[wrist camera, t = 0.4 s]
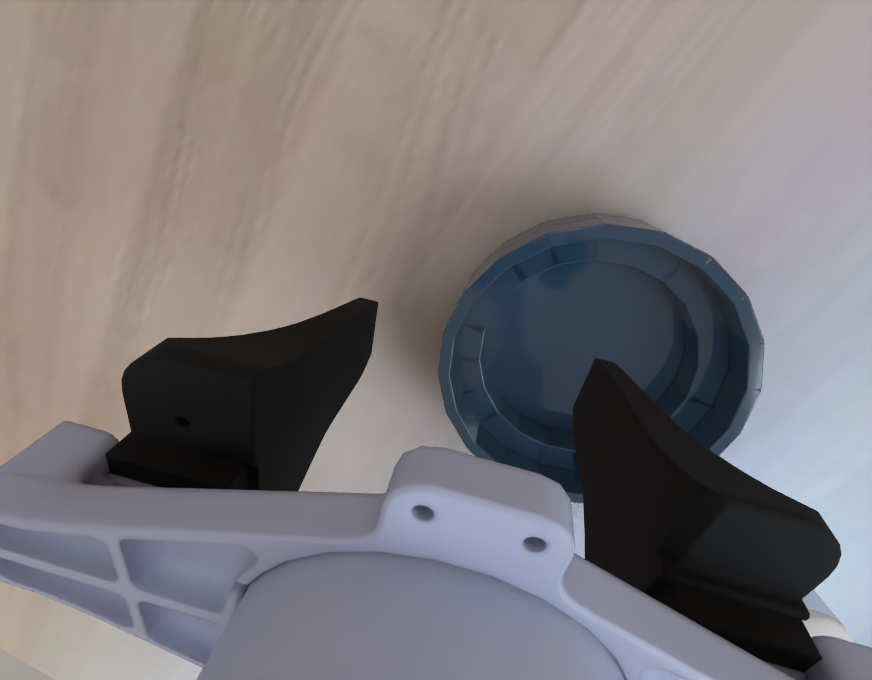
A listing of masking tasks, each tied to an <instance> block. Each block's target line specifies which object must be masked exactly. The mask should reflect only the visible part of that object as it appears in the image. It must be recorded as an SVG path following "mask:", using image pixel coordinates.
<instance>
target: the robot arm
mask: <svg viewBox="0 0 872 680" xmlns="http://www.w3.org/2000/svg"><path fill="white" fill-rule="evenodd" d="M377 308H378V302H376V301H372V300H368V299H364V298H358V299H355V300H353V301H350V302H348V303H346V304H344V305H342V306H339V307H337V308H335V309H332V310H330V311H328V312H326V313H323V314H321V315H318V316H315V317H313V318H310V319H307V320H304V321H302V322H299V323H296V324H293V325H289V326H285V327H282V328H278V329H274V330H269V331H263V332H257V333H251V334H245V335H238V336H228V337H214V338H167V339H165V340H164V341H162V342H161V343H159V344H158V345H157V346H155V347H154V348H152V349H151V350H149V351H148V352H146V353H145V354H144V355H142V356H141V357H139V358H138V359H136V360H135V361H133V362H132V363H131V364H130V365H129V366H128V367H127V368H126V369H125V371H124V374H123V377H122V392H123V397H124V401H125V406H126V410H127V414H128V419H129V423H130V427H131V432H130V433H129V434H128V435H127V436H126V437H125V438H123V439H122V440H121V441H120V442H119V441H118V439H117V438H115V437H114V436H113V435H112V434H110V433H108V432H106V431H102V430H98V429H95V428H91V427H88V426H84V425H81V424H77V423H74V422H70V421H63V422H62V423H61V424H59V425H58V426H56V427H55V428H54V429H52V430H51V431H49V432H48V433H47V434H45V435H44V436H42V437H41V438H40V439H38V440H37V441H35V442H34V443H33V444H31V445H30V446H29V447H27V448H26V449H24V450H23V451H22V452H20V453H19V454H17V455H16V456H15V457H13V458H12V459H10V460H9V461H8V462H6V463H5V464H3V465H2V466H1V467H0V581H2V582H5V583H8V584H11V585H14V586H17V587H20V588H23V589H26V590H29V591H32V592H35V593H37V594H40V595H43V596H45V597H48V598H50V599H53V600H55V601H58V602H61V603H63V604H66V605H68V606H71V607H73V608H75V609H77V610H80V611H82V612H84V613H86V614H89V615H91V616H93V617H95V618H98V619H100V620H102V621H104V622H107V623H109V624H111V625H113V626H115V627H117V628H119V629H121V630H124V631H126V632H128V633H130V634H132V635H134V636H136V637H138V638H141V639H143V640H145V641H147V642H149V643H151V644H153V645H155V646H158V647H160V648H162V649H164V650H166V651H168V652H170V653H172V654H175V655H177V656H179V657H181V658H183V659H185V660H187V661H189V662H192V663H194V664H196V665H198V666H200V667H202V668H203V669H202V671H201V673H200V674H199V676H198V678H197V680H872V648H871V647H868V646H864V645H860V644H857V643H853V642H850V641H846V640H843V639H839V638H836V637H832V636H825V635H820V636H813V637H811V636H810V634H809V632H808V630H807V629H806V627H805V625H804V623H803V621H802V620H804V621H806V620H808V619H809V618H810V613H809V611H808V609H807V607H806V605H805V603H804V602H803V600H802V599H803V598H804V597H805V596H806V595H808V594H809V593H810V592H811V591H812V590H813V589H815V588H816V587H817V586H818V585H819V584H820V583H821V582H823V581H824V580H825V579H826V578H827V577H828V576H829V575H830V574H831V573H832V572H833V571H834V569H835V568H836V567H837V565H838V563H839V560H840V557H841V549H840V544H839V542H838V541H837V539H836V538H835V536H834V535H833V533H832V532H831V530H830V529H829V527H828V526H827V524H826V523H825V521H824V520H823V518H822V517H821V515H820V514H819V513H818V512H817V511H816V510H814V509H812V508H810V507H808V506H806V505H804V504H802V503H800V502H798V501H796V500H794V499H792V498H790V497H788V496H786V495H784V494H782V493H780V492H778V491H776V490H774V489H772V488H770V487H768V486H767V485H765V484H763V483H761V482H760V481H758V480H756V479H754V478H753V477H751V476H749V475H748V474H746V473H744V472H743V471H741V470H739V469H738V468H736V467H735V466H733V465H731V464H730V463H728V462H727V461H726V460H724V459H723V458H721V457H720V456H718V455H717V454H715V453H714V452H712V451H711V450H709V449H708V448H707V447H705V446H704V445H703V444H701V443H700V442H699V441H697V440H696V439H695V438H694V437H692V436H691V435H690V434H689V433H687V432H686V431H685V430H684V429H682V428H681V427H680V426H679V425H678V424H677V423H675V422H674V421H673V420H672V419H671V418H670V417H669V416H668V415H667V414H666V413H665V412H664V411H662V410H661V409H660V408H659V407H658V406H657V405H656V404H655V403H654V402H653V401H652V400H651V399H650V398H649V397H648V396H647V395H646V394H645V393H644V391H643V390H642V389H641V388H640V387H639V386H638V385H637V384H636V383H635V382H634V381H633V380H632V379H631V378H630V377H629V376H628V375H627V374H626V373H625V372H624V371H623V370H622V369H621V368H620V367H619V366H618V365H617V364H616V363H615V362H611V361H607V360H603V359H599V358H595V360H594V362H593V364H592V366H591V369H590V371H589V373H588V375H587V377H586V379H585V382H584V384H583V386H582V388H581V390H580V393H579V395H578V397H577V399H576V401H575V403H574V406H573V437H574V444H575V450H576V456H577V463H578V469H579V475H580V481H581V487H582V494H583V503H584V527H585V559H584V558H582V557H580V556H578V555H577V554H575V553H574V546H575V537H574V528H573V519H572V510H571V501H570V498H569V496H568V495H567V494H566V492H565V491H564V489H563V488H562V486H561V485H560V484H559V483H557V482H555V481H553V480H551V479H549V478H547V477H545V476H543V475H541V474H538V473H535V472H531V471H527V470H524V469H520V468H516V467H513V466H509V465H505V464H502V463H498V462H494V461H491V460H487V459H483V458H480V457H476V456H472V455H469V454H465V453H461V452H458V451H454V450H450V449H447V448H439V447H426V446H421V447H418V448H416V449H413V450H411V451H408V452H406V453H403V455H402V456H401V458H400V460H399V461H398V463H397V464H396V466H395V468H394V471H393V474H392V477H391V479H390V482H389V485H388V488H387V491H386V493H384V494H370V493H335V492H301V491H299V488H300V486H301V484H302V482H303V479H304V477H305V475H306V473H307V471H308V469H309V466H310V464H311V462H312V460H313V458H314V456H315V454H316V452H317V450H318V448H319V445H320V443H321V441H322V439H323V437H324V435H325V433H326V431H327V430H328V428H329V426H330V424H331V423H332V421H333V420H334V418H335V417H336V415H337V413H338V412H339V410H340V409H341V407H342V406H343V404H344V403H345V401H346V399H347V398H348V396H349V395H350V393H351V392H352V390H353V389H354V387H355V385H356V384H357V382H358V381H359V379H360V377H361V376H362V373H363V371H364V369H365V367H366V365H367V362H368V360H369V358H370V355H371V352H372V345H373V337H374V330H375V323H376V315H377Z"/></svg>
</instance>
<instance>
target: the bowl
mask: <svg viewBox="0 0 872 680" xmlns="http://www.w3.org/2000/svg"><path fill="white" fill-rule="evenodd" d="M763 357H764V339H763V336H762V333H761V330H760V328H759V325H758V322H757V319H756V316H755V314H754V311H753V308H752V305H751V302H750V299H749V297H748V296H747V294H746V293H745V292H744V291H743V289H742V288H741V287H740V286H739V285H738V284H737V283H736V282H735V281H734V280H733V279H732V277H731V276H730V275H729V274H728V273H727V272H726V271H725V270H724V269H723V268H722V266H721V265H720V264H719V263H718V262H717V261H716V260H715V259H714V258H713V257H712V256H711V255H709V254H707V253H705V252H703V251H701V250H699V249H697V248H695V247H693V246H691V245H689V244H687V243H685V242H683V241H681V240H679V239H677V238H675V237H673V236H671V235H669V234H667V233H665V232H663V231H661V230H659V229H657V228H656V227H654V226H652V225H650V224H648V223H646V222H644V221H642V220H639V219H632V218H624V217H617V216H610V215H602V214H595V213H592V214H584V215H579V216H573V217H567V218H562V219H556V220H550V221H546V222H542V223H540V224H539V225H537V226H535V227H533V228H531V229H529V230H527V231H525V232H523V233H521V234H519V235H517V236H515V237H513V238H511V239H509V240H507V241H506V242H504V243H502V244H501V245H500V246H499V247H498V248H497V249H496V250H495V251H494V252H493V253H492V254H491V255H490V256H489V257H488V258H487V259H486V260H485V261H484V262H483V263H482V264H481V265H480V266H479V267H478V268H477V269H476V270H475V271H474V272H473V274H472V275H471V277H470V279H469V281H468V283H467V285H466V287H465V289H464V291H463V293H462V295H461V297H460V299H459V301H458V303H457V305H456V307H455V309H454V311H453V313H452V315H451V317H450V320H449V322H448V324H447V326H446V328H445V330H444V333H443V339H442V346H441V354H440V362H439V369H438V377H439V382H440V386H441V391H442V396H443V400H444V405H445V410H446V413H447V415H448V417H449V419H450V420H451V422H452V424H453V425H454V427H455V429H456V430H457V432H458V434H459V435H460V437H461V439H462V440H463V442H464V444H465V445H466V447H467V448H468V449H469V450H470V451H471V452H472V453H473V454H474V455H475V456H476V457H480V458H483V459H487V460H491V461H494V462H498V463H502V464H505V465H509V466H513V467H516V468H520V469H524V470H527V471H531V472H535V473H538V474H541V475H543V476H545V477H547V478H549V479H551V480H553V481H555V482H557V483H559V484H560V485H561V486H562V488H563V489H564V491H565V492H566V494H567V495H568V496H569V498H570V501H571V502H575V503H583V494H582V487H581V481H580V475H579V469H578V463H577V456H576V450H575V444H574V437H573V406H574V403H575V401H576V399H577V397H578V395H579V393H580V390H581V388H582V386H583V384H584V382H585V379H586V377H587V375H588V373H589V371H590V369H591V366H592V364H593V362H594V360H595V358H599V359H603V360H607V361H611V362H615V363H616V364H617V365H618V366H619V367H620V368H621V369H622V370H623V371H624V372H625V373H626V374H627V375H628V376H629V377H630V378H631V379H632V380H633V381H634V382H635V383H636V384H637V385H638V386H639V387H640V388H641V389H642V390H643V391H644V393H645V394H646V395H647V396H648V397H649V398H650V399H651V400H652V401H653V402H654V403H655V404H656V405H657V406H658V407H659V408H660V409H661V410H662V411H664V412H665V413H666V414H667V415H668V416H669V417H670V418H671V419H672V420H673V421H674V422H675V423H677V424H678V425H679V426H680V427H681V428H682V429H684V430H685V431H686V432H687V433H689V434H690V435H691V436H692V437H694V438H695V439H696V440H697V441H699V442H700V443H701V444H703V445H704V446H705V447H707V448H708V449H709V450H711V451H712V452H714V453H715V454H717V455H718V456H719V455H720V454H721V453H722V452H723V451H724V450H725V449H726V448H727V447H728V446H729V445H730V444H731V443H732V442H733V441H734V440H735V439H736V438H737V436H738V435H739V434H740V433H741V431H742V430H743V428H744V426H745V423H746V421H747V419H748V417H749V415H750V413H751V411H752V408H753V406H754V404H755V402H756V400H757V398H758V396H759V394H760V391H761V388H762V372H763Z"/></svg>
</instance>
